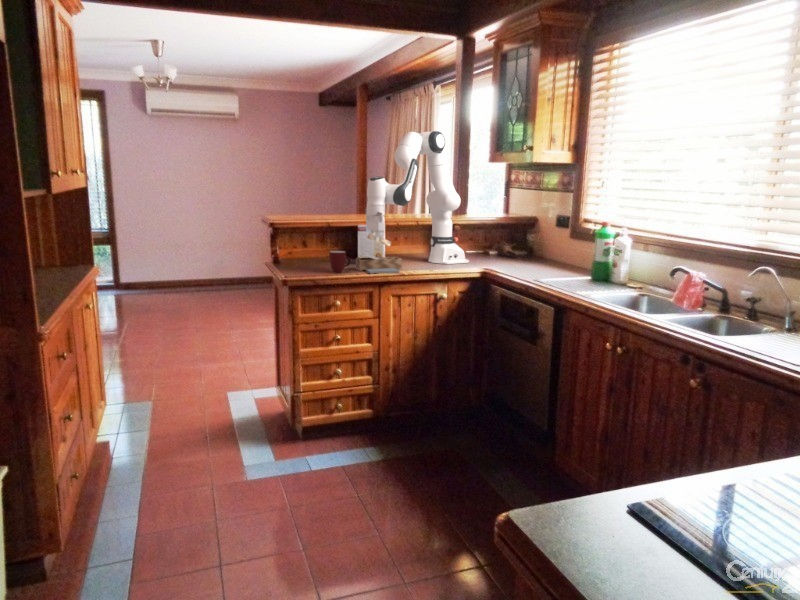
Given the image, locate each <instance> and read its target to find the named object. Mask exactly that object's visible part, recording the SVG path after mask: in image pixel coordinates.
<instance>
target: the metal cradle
mask: <svg viewBox="0 0 800 600" xmlns="http://www.w3.org/2000/svg"><path fill="white" fill-rule="evenodd" d="M361 254H362V255H364V256H367V257H370V258H373V259H380V258H377V257H374V256H372V255H369V254H366V253H363V252H361ZM383 259H385V258H383Z"/></svg>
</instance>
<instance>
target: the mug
mask: <svg viewBox="0 0 800 600" xmlns="http://www.w3.org/2000/svg"><path fill="white" fill-rule="evenodd" d="M328 257H329V262H330V267H331V270H332V272H333V273H335V274H341V273H343V271H344V269H345V267H348V266H350V264H351V259H350V257H349V256H347V252H346V251H345V250H330V251H329V256H328ZM346 260H347V264H346Z"/></svg>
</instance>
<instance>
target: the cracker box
mask: <svg viewBox="0 0 800 600" xmlns="http://www.w3.org/2000/svg"><path fill="white" fill-rule="evenodd" d="M369 233H370V234H371V230H370V229H368V228H367V226H366V223H365V224H358V225H357V258H370V257H367V256H364V255H362V254H361V252H363V253H366V254H369V255H372V256H374V257H386V245H384V244H382V243H379V242H376V241H374V240H371V239H369V238H367V237H368V234H369ZM375 234H376V233H375ZM379 237H380V238H383V239H386V230H385V231H384V232H380V236H379Z"/></svg>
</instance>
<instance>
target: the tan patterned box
mask: <svg viewBox="0 0 800 600" xmlns="http://www.w3.org/2000/svg"><path fill="white" fill-rule="evenodd" d="M377 258H380V259H373V258H358V257H355V269H356V268H357V269H358V270H357V269H356V270H357V271H359V270H360V271H359V272H364V271H363V270H366V269H385V268H395V269H397V270H399V271H401V270H400V269H402V270H403V259H402V258H401V257H398V256H385V257H377ZM383 258H385V259H383Z"/></svg>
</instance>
